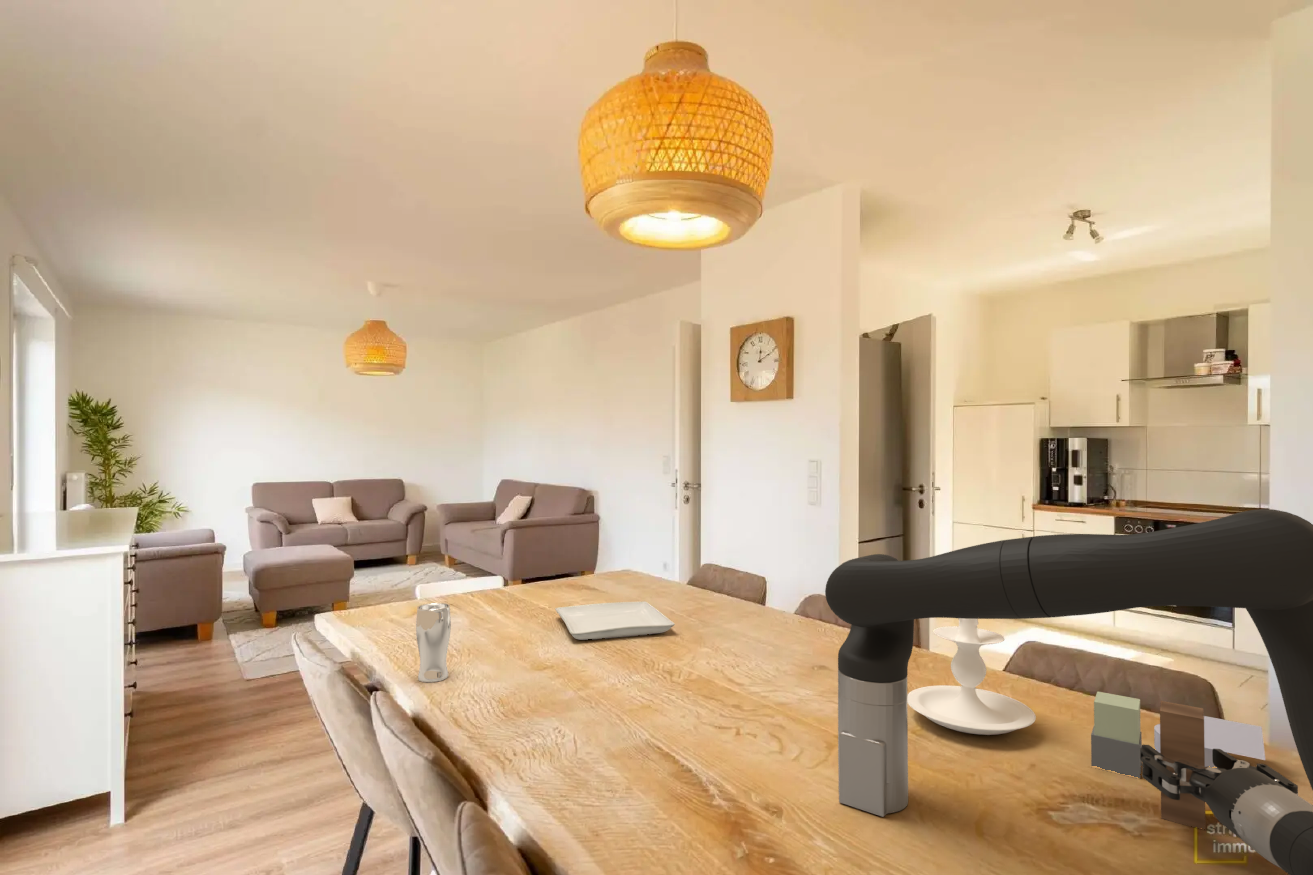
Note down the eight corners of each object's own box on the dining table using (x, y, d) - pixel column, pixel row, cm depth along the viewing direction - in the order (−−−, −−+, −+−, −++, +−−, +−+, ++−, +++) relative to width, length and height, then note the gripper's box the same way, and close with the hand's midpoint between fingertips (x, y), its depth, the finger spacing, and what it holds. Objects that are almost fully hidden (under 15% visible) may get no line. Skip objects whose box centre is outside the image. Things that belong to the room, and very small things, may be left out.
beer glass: (408, 679, 141) (408, 607, 141) (433, 670, 147) (434, 601, 147) (432, 685, 138) (433, 611, 138) (457, 675, 144) (457, 604, 144)
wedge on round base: (1258, 760, 105) (1154, 738, 113) (1258, 717, 105) (1154, 698, 113) (1265, 783, 98) (1154, 758, 105) (1265, 736, 98) (1153, 715, 106)
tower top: (1138, 744, 99) (1138, 710, 99) (1094, 734, 103) (1093, 701, 103) (1140, 731, 104) (1140, 699, 104) (1097, 723, 107) (1097, 691, 107)
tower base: (1139, 779, 99) (1139, 745, 99) (1091, 767, 102) (1091, 734, 103) (1141, 764, 104) (1141, 731, 104) (1095, 753, 107) (1094, 721, 107)
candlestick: (1030, 705, 127) (1029, 556, 128) (1040, 759, 105) (1039, 578, 105) (913, 688, 136) (913, 549, 137) (900, 734, 114) (899, 568, 114)
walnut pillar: (1205, 830, 86) (1204, 719, 86) (1161, 818, 88) (1159, 710, 89) (1204, 814, 89) (1203, 708, 89) (1161, 803, 92) (1160, 700, 92)
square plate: (554, 619, 192) (554, 606, 192) (646, 612, 200) (646, 599, 200) (571, 646, 166) (571, 630, 166) (676, 637, 174) (676, 622, 174)
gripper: (1347, 790, 72) (1238, 728, 88) (1200, 781, 74) (1120, 721, 90) (1347, 861, 72) (1239, 785, 88) (1201, 849, 74) (1121, 778, 90)
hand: (1179, 753), depth 89 cm, fingers open, 8 cm apart
